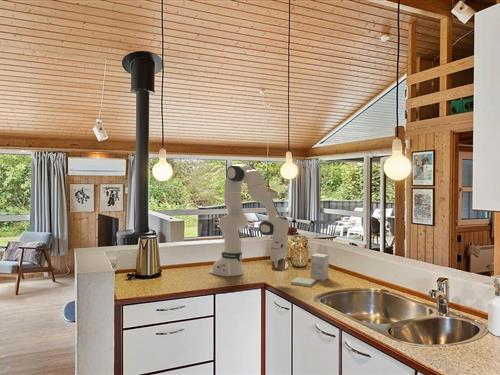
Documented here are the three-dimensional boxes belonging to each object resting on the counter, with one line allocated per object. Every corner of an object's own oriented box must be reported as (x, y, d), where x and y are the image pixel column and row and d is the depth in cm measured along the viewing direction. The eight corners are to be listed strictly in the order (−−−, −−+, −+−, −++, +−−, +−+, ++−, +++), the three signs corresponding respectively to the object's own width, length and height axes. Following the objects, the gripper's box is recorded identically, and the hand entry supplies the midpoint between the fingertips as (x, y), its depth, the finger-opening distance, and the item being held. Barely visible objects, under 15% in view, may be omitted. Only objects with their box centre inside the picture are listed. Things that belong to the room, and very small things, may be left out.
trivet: (290, 284, 235) (290, 281, 235) (296, 279, 246) (296, 277, 246) (310, 286, 230) (310, 284, 230) (315, 281, 241) (315, 279, 241)
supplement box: (315, 276, 255) (315, 253, 255) (328, 278, 251) (329, 254, 250) (309, 279, 248) (310, 255, 247) (323, 281, 243) (324, 257, 243)
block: (271, 270, 233) (272, 260, 233) (275, 268, 239) (276, 258, 238) (281, 271, 231) (282, 261, 231) (284, 269, 236) (285, 259, 236)
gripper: (280, 239, 245) (279, 262, 245) (268, 245, 226) (267, 268, 227) (290, 241, 242) (289, 263, 243) (279, 246, 224) (277, 270, 224)
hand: (278, 266), depth 235 cm, fingers closed on block, 6 cm apart
